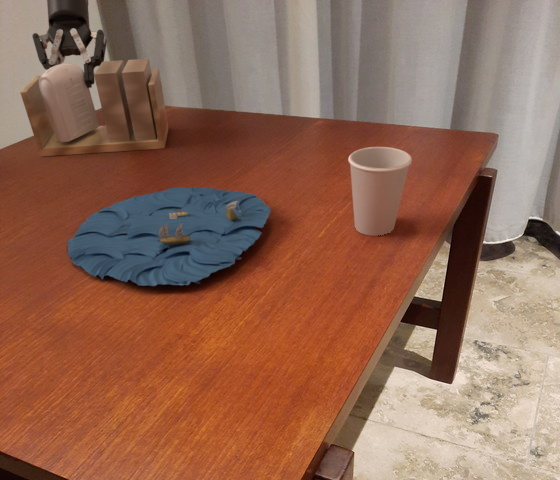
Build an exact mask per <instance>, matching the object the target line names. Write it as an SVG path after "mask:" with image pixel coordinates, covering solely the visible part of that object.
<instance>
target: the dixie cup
mask: <svg viewBox="0 0 560 480" xmlns="http://www.w3.org/2000/svg"><path fill="white" fill-rule="evenodd" d="M412 161H413V158H412V156H411V155H410V154H409V153H408V152H406V151H405V150H403V149H399V148H395V147H391V146H390V147H388V146H369V147H363V148H360V149H357V150H354V151H353V152H351V154H350V155H349V156H348V163H349V166H350V179H351V193H352V195H351V196H352V207H353V221H354V229H355V228H356V229H355V231H357V232H358V233H359V234H362V235H366V236H370V237H380V235H381V236H385V235H384V234H386V235H388V234H387V233H389V234H390V233H392V232H393V231H394V229H395V225H396V221H397V217H398V213H399V209H400V205H401V200H402V197H403V192H404V188H405V184H406V180H407V175H408V171H409V168H410V165H411V164H412V163H413V162H412ZM392 230H393V231H392ZM391 231H392V232H391ZM378 235H379V236H378Z"/></svg>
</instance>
